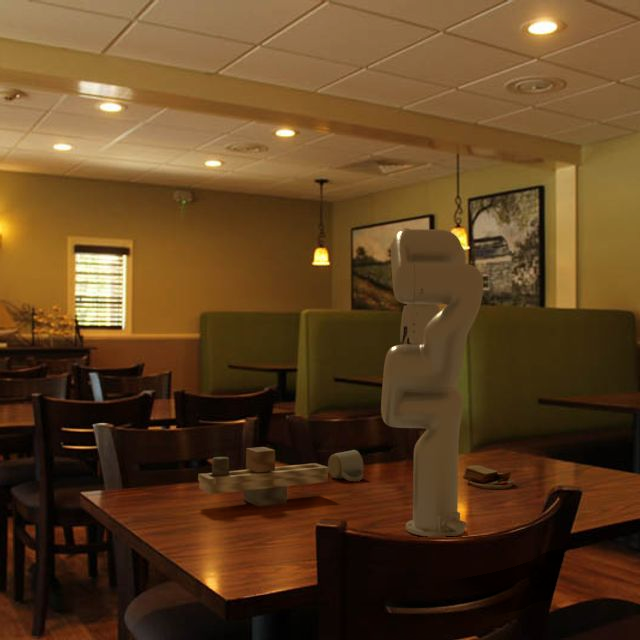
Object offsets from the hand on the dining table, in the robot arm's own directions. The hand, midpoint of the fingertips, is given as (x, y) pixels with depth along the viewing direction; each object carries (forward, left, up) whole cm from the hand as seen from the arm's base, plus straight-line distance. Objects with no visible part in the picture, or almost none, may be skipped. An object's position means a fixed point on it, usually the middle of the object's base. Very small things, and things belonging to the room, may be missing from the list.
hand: (421, 372), depth 204 cm
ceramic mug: (+32, +1, -32) cm, 46 cm away
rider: (+17, +36, -26) cm, 48 cm away
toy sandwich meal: (+7, -29, -33) cm, 44 cm away
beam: (+17, +35, -32) cm, 50 cm away
